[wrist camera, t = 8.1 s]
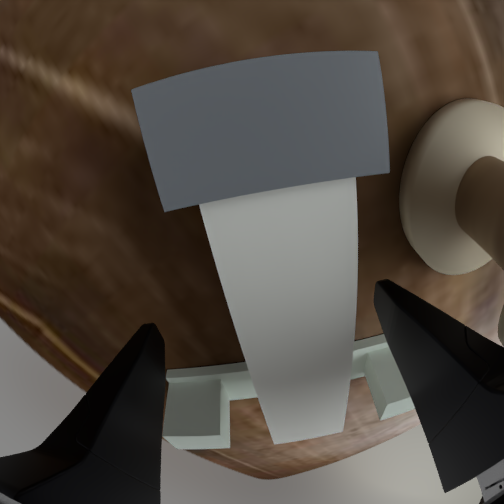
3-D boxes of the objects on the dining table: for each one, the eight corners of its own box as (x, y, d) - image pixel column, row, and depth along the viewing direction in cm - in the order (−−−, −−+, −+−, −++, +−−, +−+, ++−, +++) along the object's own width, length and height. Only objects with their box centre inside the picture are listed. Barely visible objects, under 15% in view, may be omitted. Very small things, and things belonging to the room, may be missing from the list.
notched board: (167, 369, 15) (158, 432, 12) (413, 325, 14) (442, 380, 11) (184, 395, 17) (180, 451, 13) (403, 356, 16) (425, 407, 13)
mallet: (336, 366, 15) (356, 435, 11) (256, 380, 15) (261, 453, 11) (317, 68, 8) (378, 51, 4) (178, 91, 8) (131, 89, 4)
